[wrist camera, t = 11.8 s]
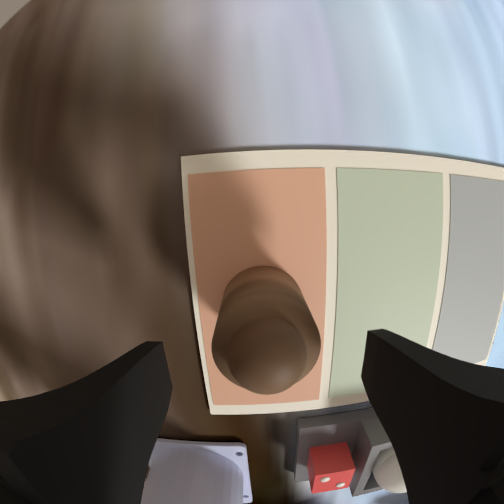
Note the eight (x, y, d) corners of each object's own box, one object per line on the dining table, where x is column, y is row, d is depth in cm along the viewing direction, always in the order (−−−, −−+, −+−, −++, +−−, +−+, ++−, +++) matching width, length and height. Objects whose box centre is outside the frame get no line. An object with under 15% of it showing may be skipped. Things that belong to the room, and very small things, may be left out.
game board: (482, 365, 16) (485, 367, 16) (211, 411, 16) (210, 414, 16) (511, 169, 13) (514, 169, 13) (182, 157, 13) (180, 156, 13)
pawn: (301, 336, 15) (326, 416, 9) (225, 340, 15) (212, 423, 9) (302, 263, 14) (337, 317, 8) (219, 267, 14) (196, 325, 8)
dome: (413, 451, 17) (433, 491, 12) (360, 466, 17) (375, 511, 12) (430, 412, 16) (458, 454, 11) (372, 428, 16) (395, 479, 11)
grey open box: (415, 447, 18) (430, 474, 14) (293, 472, 18) (298, 507, 15) (439, 389, 17) (462, 418, 13) (297, 418, 17) (305, 459, 13)
